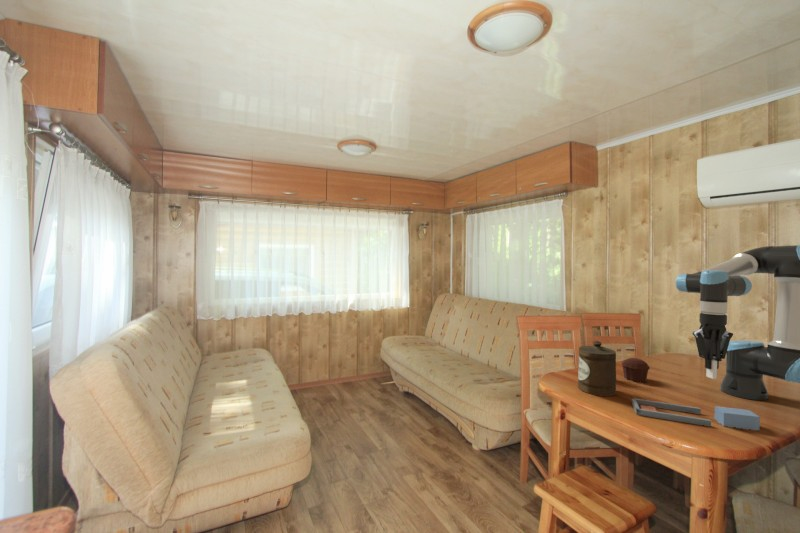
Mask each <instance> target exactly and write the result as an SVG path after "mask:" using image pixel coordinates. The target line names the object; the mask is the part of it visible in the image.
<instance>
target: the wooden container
mask: <svg viewBox="0 0 800 533" xmlns="http://www.w3.org/2000/svg"><path fill="white" fill-rule="evenodd" d="M601 346H602V342H600V341H599V340H594V341H593V342H592V345H583V346H579V347H578V372H577V373H578V374H577V375H578V376H577V377H578V378H577V381H578V382H577V384H578V386H577V387H578V389H579V390H580V391H582V392H583V393H584V392H585V394H590V395H592V396H593V395H594V396H601V397H611V396H614V395H616V392H617V359H616V358H617V354H616V353H617V352H616V351H615V350H614V349H611V348H608V347H605V348H603V347H604V346H602V347H601Z"/></svg>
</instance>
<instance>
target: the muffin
mask: <svg viewBox="0 0 800 533" xmlns="http://www.w3.org/2000/svg"><path fill="white" fill-rule="evenodd" d="M621 365H622V371H623V372H622V373H623V378H624V379H625V380H627V381H630V382H633V383H634V382H635V383H645V382H647V377H648V374H649V370H650V366H649V365H648V363H647V362H646V361H645V360H644V359H641V358H637V357H629V358H627V359H624V360H623V361H622V362H621Z"/></svg>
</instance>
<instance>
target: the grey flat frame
mask: <svg viewBox="0 0 800 533" xmlns="http://www.w3.org/2000/svg"><path fill="white" fill-rule="evenodd" d="M631 405H632V408H633V409H634V412H635V414H636V416H644V417H650V418H655V419H656V418H657V419H662V420H667V421H673V422H679V423H680V422H681V423H686V424H692V425H697V426H703V425H704V426H705V427H709V426H711V427H712V420H711V419H708V418H700V417H694V416H687V415H681V414H676V413H669V412H663V411H658V410H657V408H658V409H665V410H670V411H677V412H684V413H690V414H695V415H696V414H697V415H701V412H702V411H701V410H702V409H701V408H700V407H697V406H696V407H695V406H689V405H682V404H675V403H668V402H662V401H657V400H655V401H654V400H649V399H642V398H635V397H631ZM704 426H703V427H704Z"/></svg>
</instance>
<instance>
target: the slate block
mask: <svg viewBox="0 0 800 533" xmlns="http://www.w3.org/2000/svg"><path fill="white" fill-rule="evenodd" d="M760 418H761V417H760V416H759V415H757V414H756V413H754V412H753V411H751V410H750V409H743V408H735V407H725V406H718V405H715V406H714V420H715V419H716V420H717V421H716V420H715V421H716V422H717V423H719V424H720V423H721V424H722V425H721V424H720V425H721V426H722V427H725V426H728V427H727V428H733V427H736V428H735V429H741V428H742V429H743V430H749V429H751V431H757V430H759V431H760V426H761V424H760V420H761V419H760Z"/></svg>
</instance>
